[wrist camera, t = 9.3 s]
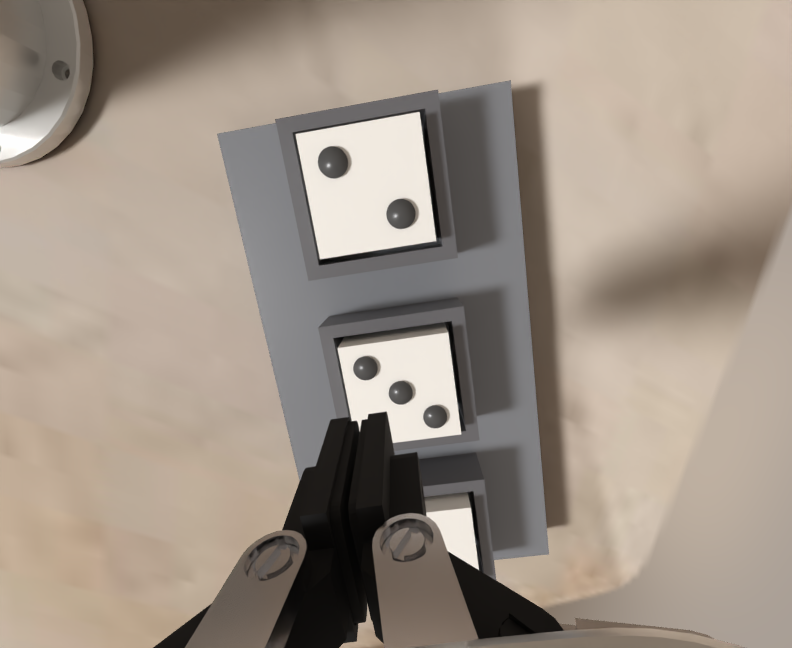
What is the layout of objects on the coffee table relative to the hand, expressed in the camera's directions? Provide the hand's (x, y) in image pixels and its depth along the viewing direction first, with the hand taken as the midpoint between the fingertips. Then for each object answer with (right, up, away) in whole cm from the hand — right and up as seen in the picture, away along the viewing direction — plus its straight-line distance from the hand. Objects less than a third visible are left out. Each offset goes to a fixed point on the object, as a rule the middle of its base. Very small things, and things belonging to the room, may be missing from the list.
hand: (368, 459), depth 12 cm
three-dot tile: (+1, +2, +9) cm, 10 cm away
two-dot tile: (0, +10, +7) cm, 13 cm away
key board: (+1, +2, +12) cm, 12 cm away
